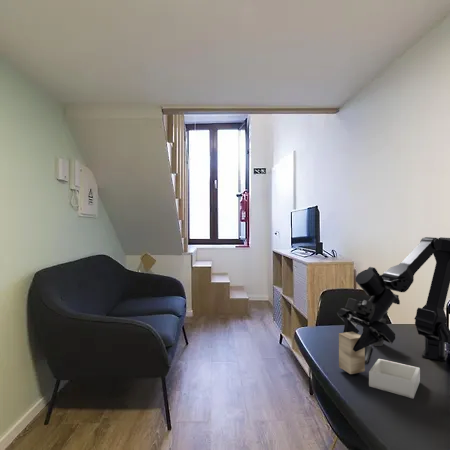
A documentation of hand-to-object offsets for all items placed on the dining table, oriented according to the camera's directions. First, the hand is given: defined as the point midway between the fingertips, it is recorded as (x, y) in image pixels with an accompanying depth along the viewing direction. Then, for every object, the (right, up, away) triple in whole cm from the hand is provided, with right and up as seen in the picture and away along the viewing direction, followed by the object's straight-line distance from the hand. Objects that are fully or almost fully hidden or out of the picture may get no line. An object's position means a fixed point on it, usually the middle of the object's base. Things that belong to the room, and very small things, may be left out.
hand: (347, 347), depth 100 cm
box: (+11, -8, -6) cm, 15 cm away
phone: (+9, -8, +15) cm, 19 cm away
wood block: (+1, -7, +1) cm, 7 cm away
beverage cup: (+19, -7, +24) cm, 31 cm away
